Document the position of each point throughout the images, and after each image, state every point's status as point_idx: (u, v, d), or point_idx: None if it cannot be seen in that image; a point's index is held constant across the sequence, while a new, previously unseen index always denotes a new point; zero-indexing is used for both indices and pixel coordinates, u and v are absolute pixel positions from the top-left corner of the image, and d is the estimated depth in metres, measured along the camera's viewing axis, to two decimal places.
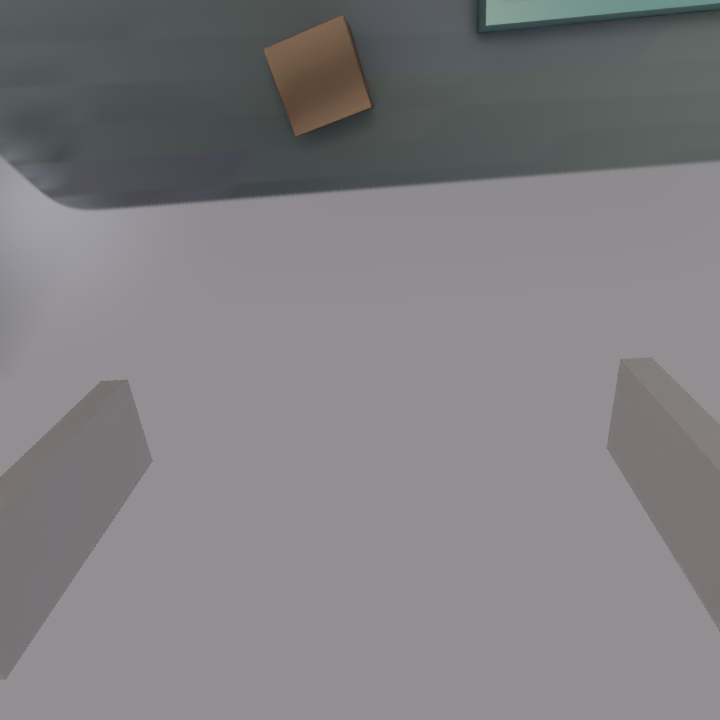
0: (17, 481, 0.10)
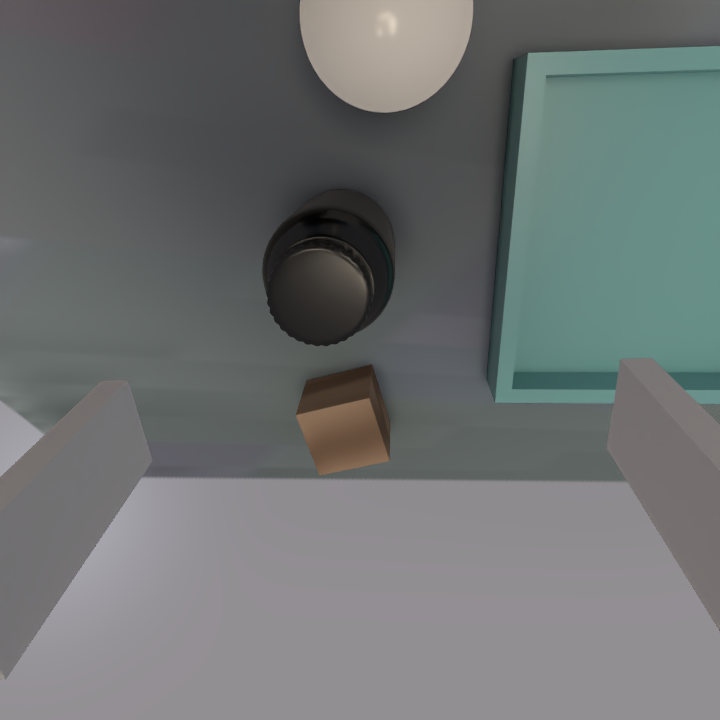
0: (17, 481, 0.10)
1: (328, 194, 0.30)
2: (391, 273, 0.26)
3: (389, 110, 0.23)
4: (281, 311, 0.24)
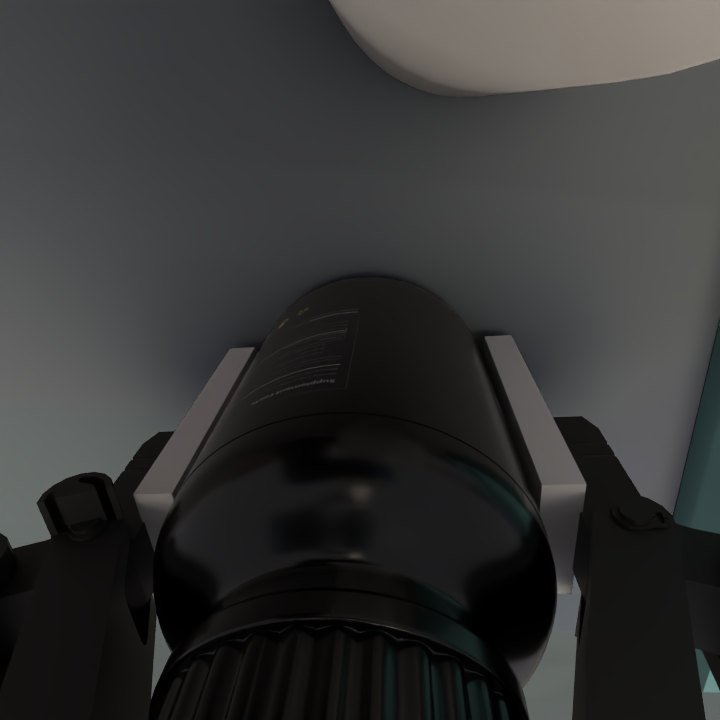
0: (197, 426, 0.12)
1: (339, 307, 0.12)
2: (554, 608, 0.08)
3: (631, 71, 0.05)
4: None
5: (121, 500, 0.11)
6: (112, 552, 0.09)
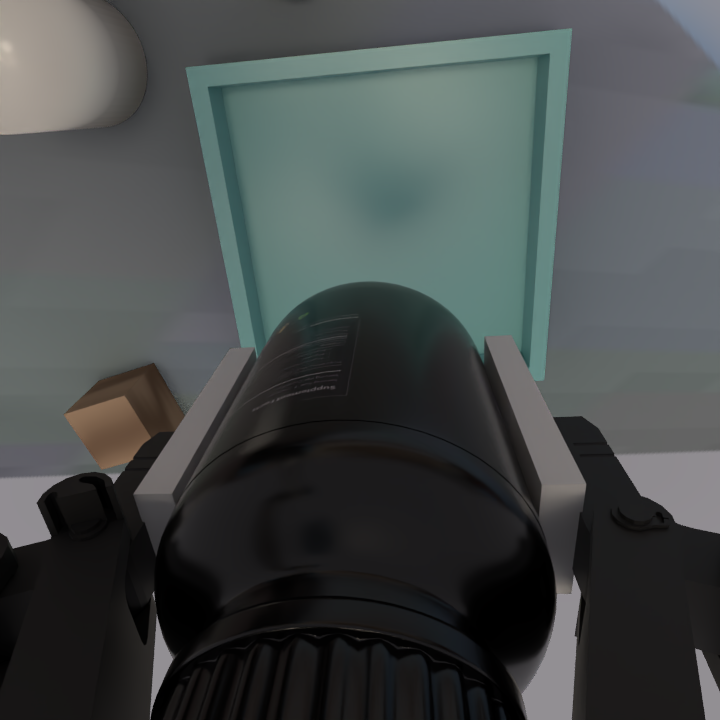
0: (197, 426, 0.12)
1: (339, 312, 0.12)
2: (553, 614, 0.08)
3: (14, 132, 0.25)
4: None
5: (121, 500, 0.11)
6: (112, 552, 0.09)
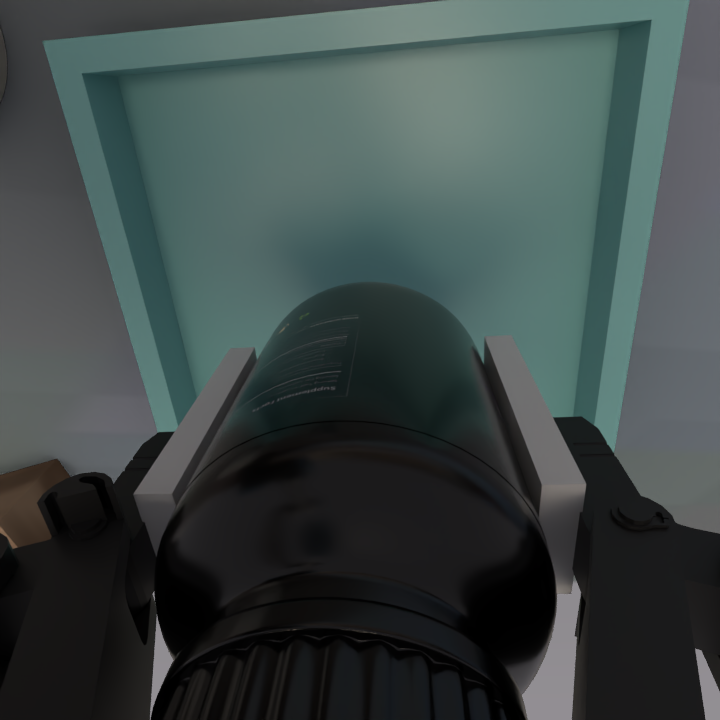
0: (197, 426, 0.12)
1: (339, 312, 0.12)
2: (553, 615, 0.08)
3: None
4: None
5: (121, 500, 0.11)
6: (112, 552, 0.09)
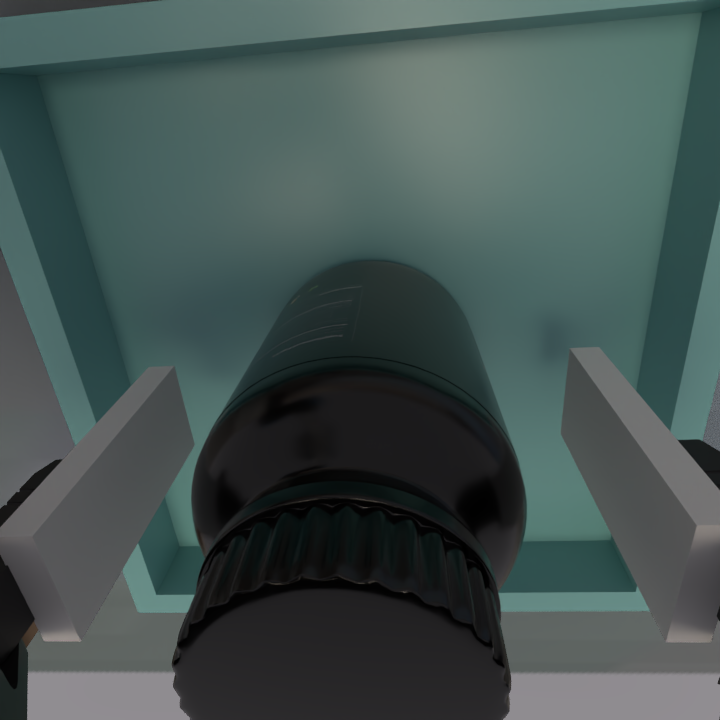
0: (85, 457, 0.11)
1: (345, 283, 0.14)
2: (523, 520, 0.10)
3: None
4: None
5: None
6: None
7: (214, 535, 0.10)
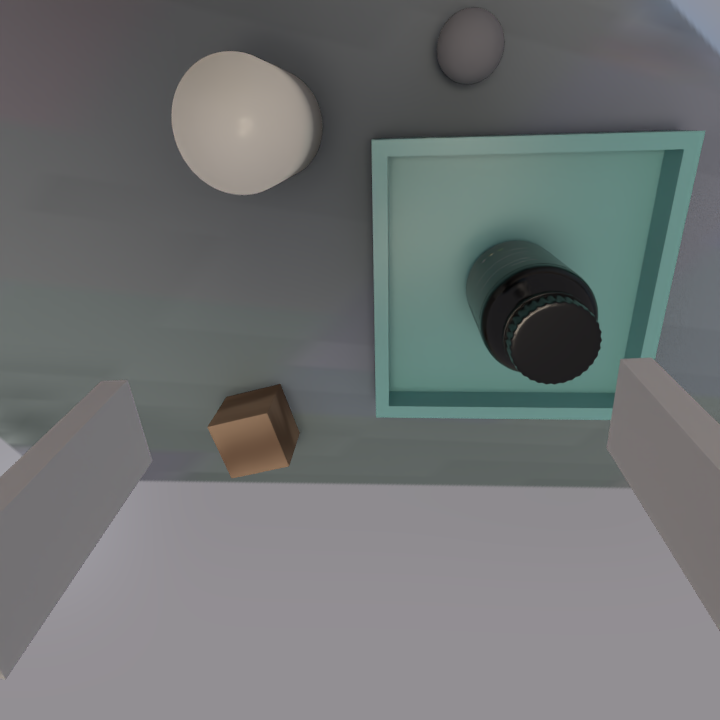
0: (17, 481, 0.10)
1: (518, 247, 0.35)
2: (597, 320, 0.30)
3: (248, 193, 0.29)
4: (521, 355, 0.28)
5: None
6: None
7: (498, 318, 0.30)
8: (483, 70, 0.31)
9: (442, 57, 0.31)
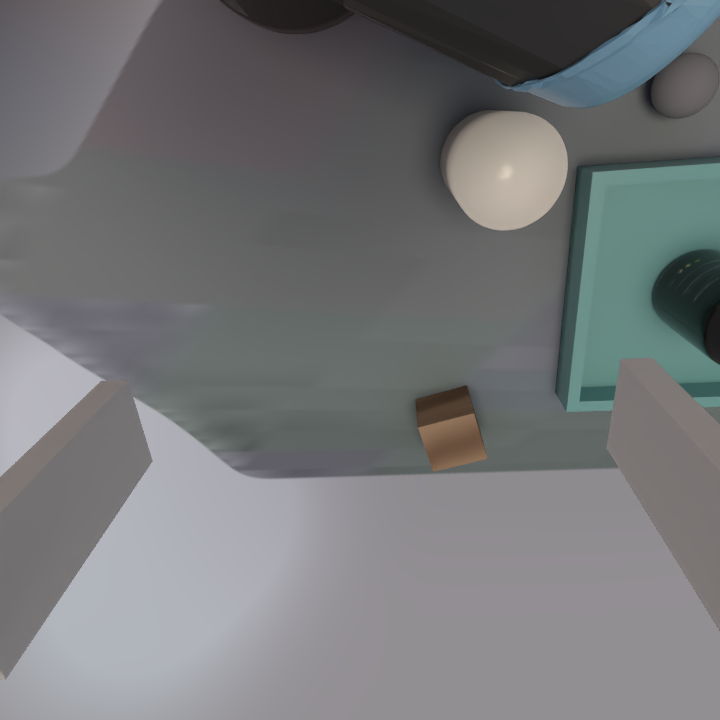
0: (17, 481, 0.10)
1: (716, 258, 0.39)
2: None
3: (511, 228, 0.34)
4: None
5: None
6: None
7: None
8: (700, 108, 0.36)
9: (661, 97, 0.36)
